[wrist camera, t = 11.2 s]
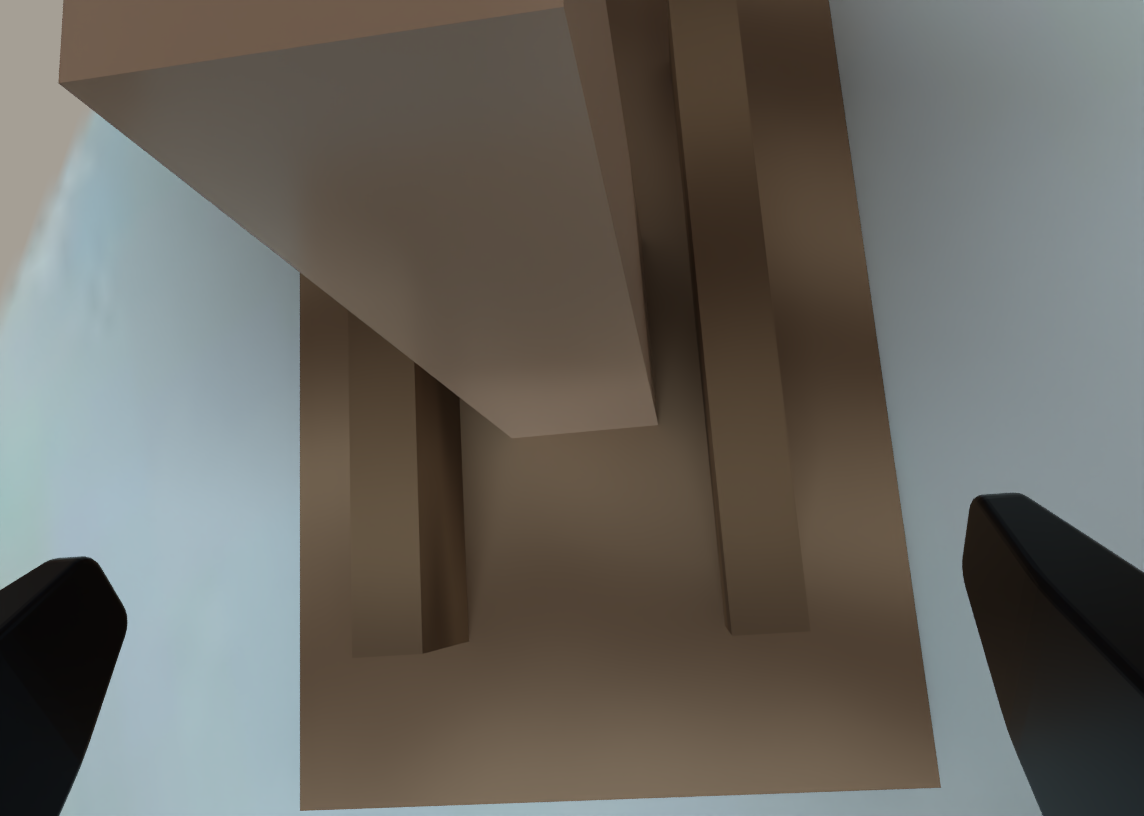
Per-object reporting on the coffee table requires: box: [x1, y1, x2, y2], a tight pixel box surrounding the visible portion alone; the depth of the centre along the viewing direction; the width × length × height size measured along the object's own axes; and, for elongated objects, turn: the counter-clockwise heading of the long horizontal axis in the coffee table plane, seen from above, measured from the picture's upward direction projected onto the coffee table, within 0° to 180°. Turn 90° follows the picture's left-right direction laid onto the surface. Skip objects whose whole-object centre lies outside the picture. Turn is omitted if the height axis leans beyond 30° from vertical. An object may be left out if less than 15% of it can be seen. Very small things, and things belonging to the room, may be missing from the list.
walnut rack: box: [300, 0, 941, 811], centre depth 17 cm, size 18×12×4 cm, turn 4°
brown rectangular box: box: [59, 0, 658, 438], centre depth 12 cm, size 3×4×13 cm
